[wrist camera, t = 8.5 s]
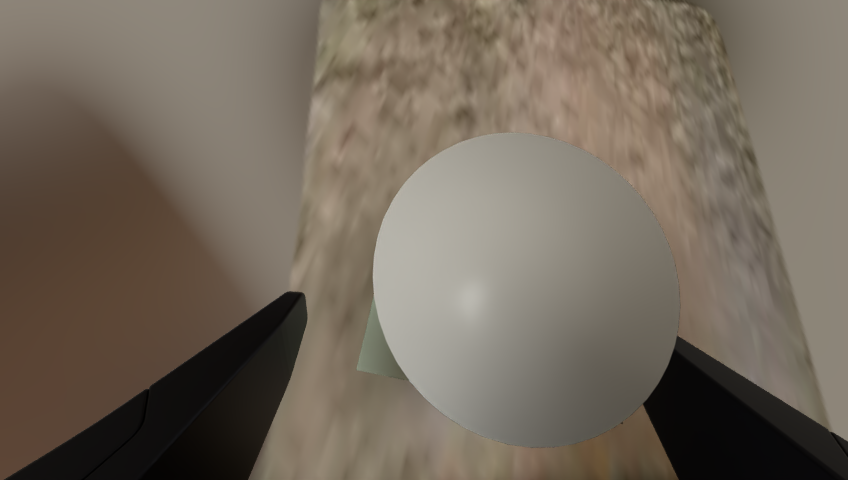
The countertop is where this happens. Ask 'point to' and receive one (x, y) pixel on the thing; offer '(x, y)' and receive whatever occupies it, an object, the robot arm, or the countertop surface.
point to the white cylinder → (526, 290)
